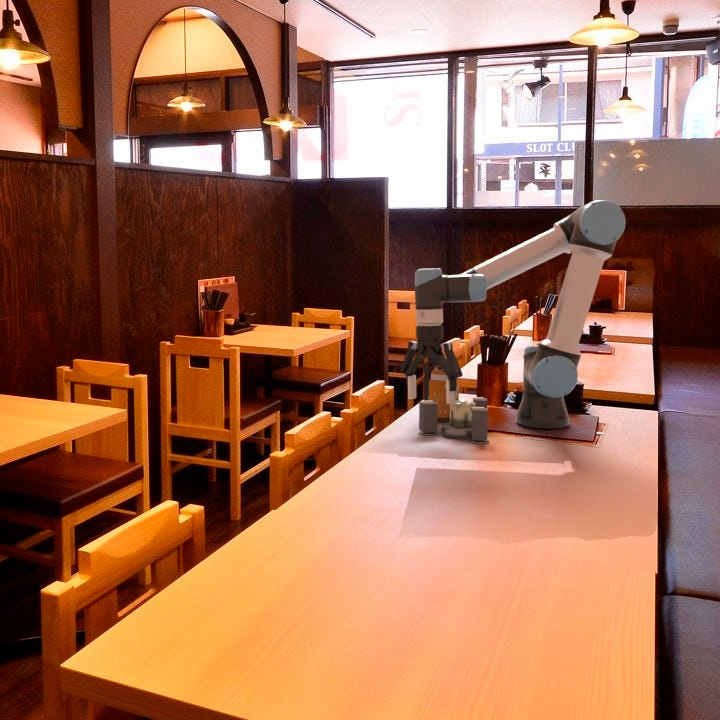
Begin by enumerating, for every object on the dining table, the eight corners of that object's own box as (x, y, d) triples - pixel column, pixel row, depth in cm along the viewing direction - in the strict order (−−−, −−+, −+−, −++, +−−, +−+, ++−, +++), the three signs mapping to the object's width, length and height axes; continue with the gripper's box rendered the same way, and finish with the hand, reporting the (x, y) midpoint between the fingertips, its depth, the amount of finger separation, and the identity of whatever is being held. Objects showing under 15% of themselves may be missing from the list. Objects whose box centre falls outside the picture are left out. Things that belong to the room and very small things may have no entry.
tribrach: (488, 428, 224) (489, 395, 223) (489, 444, 203) (490, 408, 202) (421, 425, 227) (421, 393, 226) (415, 441, 206) (415, 406, 205)
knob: (486, 425, 224) (487, 396, 223) (486, 428, 220) (487, 398, 219) (472, 425, 224) (472, 396, 223) (472, 427, 220) (472, 398, 220)
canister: (457, 426, 226) (458, 358, 224) (419, 425, 228) (420, 358, 226) (459, 421, 235) (460, 355, 233) (423, 419, 237) (424, 354, 235)
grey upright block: (432, 429, 219) (432, 399, 218) (437, 431, 215) (437, 401, 214) (418, 429, 218) (419, 399, 217) (422, 432, 214) (423, 402, 213)
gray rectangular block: (486, 437, 208) (487, 406, 207) (487, 440, 204) (487, 408, 203) (471, 436, 208) (472, 405, 207) (471, 440, 204) (472, 408, 203)
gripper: (386, 324, 219) (388, 398, 221) (457, 326, 202) (459, 406, 204) (403, 322, 224) (405, 395, 226) (474, 324, 207) (475, 402, 209)
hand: (431, 400), depth 215 cm, fingers open, 13 cm apart
